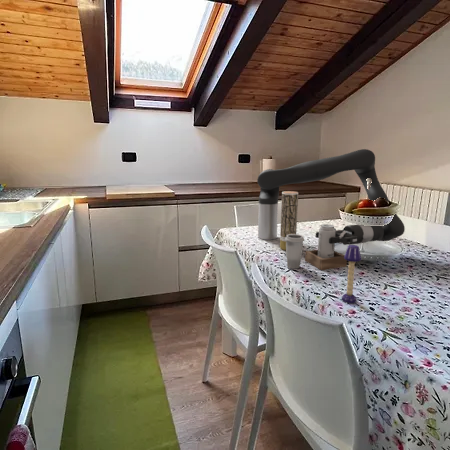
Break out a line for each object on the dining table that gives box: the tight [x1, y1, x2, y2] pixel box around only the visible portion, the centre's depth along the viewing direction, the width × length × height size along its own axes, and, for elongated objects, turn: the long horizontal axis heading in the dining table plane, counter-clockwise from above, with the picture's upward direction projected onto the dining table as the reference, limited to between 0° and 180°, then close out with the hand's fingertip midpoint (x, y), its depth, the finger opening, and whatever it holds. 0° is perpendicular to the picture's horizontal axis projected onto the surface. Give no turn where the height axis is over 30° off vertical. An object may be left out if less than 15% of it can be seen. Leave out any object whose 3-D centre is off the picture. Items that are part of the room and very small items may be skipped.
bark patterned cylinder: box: [279, 190, 299, 251], centre depth 148 cm, size 7×7×25 cm
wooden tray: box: [304, 249, 347, 271], centre depth 132 cm, size 11×11×4 cm
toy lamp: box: [341, 244, 362, 304], centre depth 100 cm, size 5×5×17 cm
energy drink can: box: [317, 223, 337, 258], centre depth 131 cm, size 6×6×15 cm
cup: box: [285, 233, 305, 270], centre depth 128 cm, size 7×7×12 cm
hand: (322, 237), depth 129 cm, fingers open, 8 cm apart
